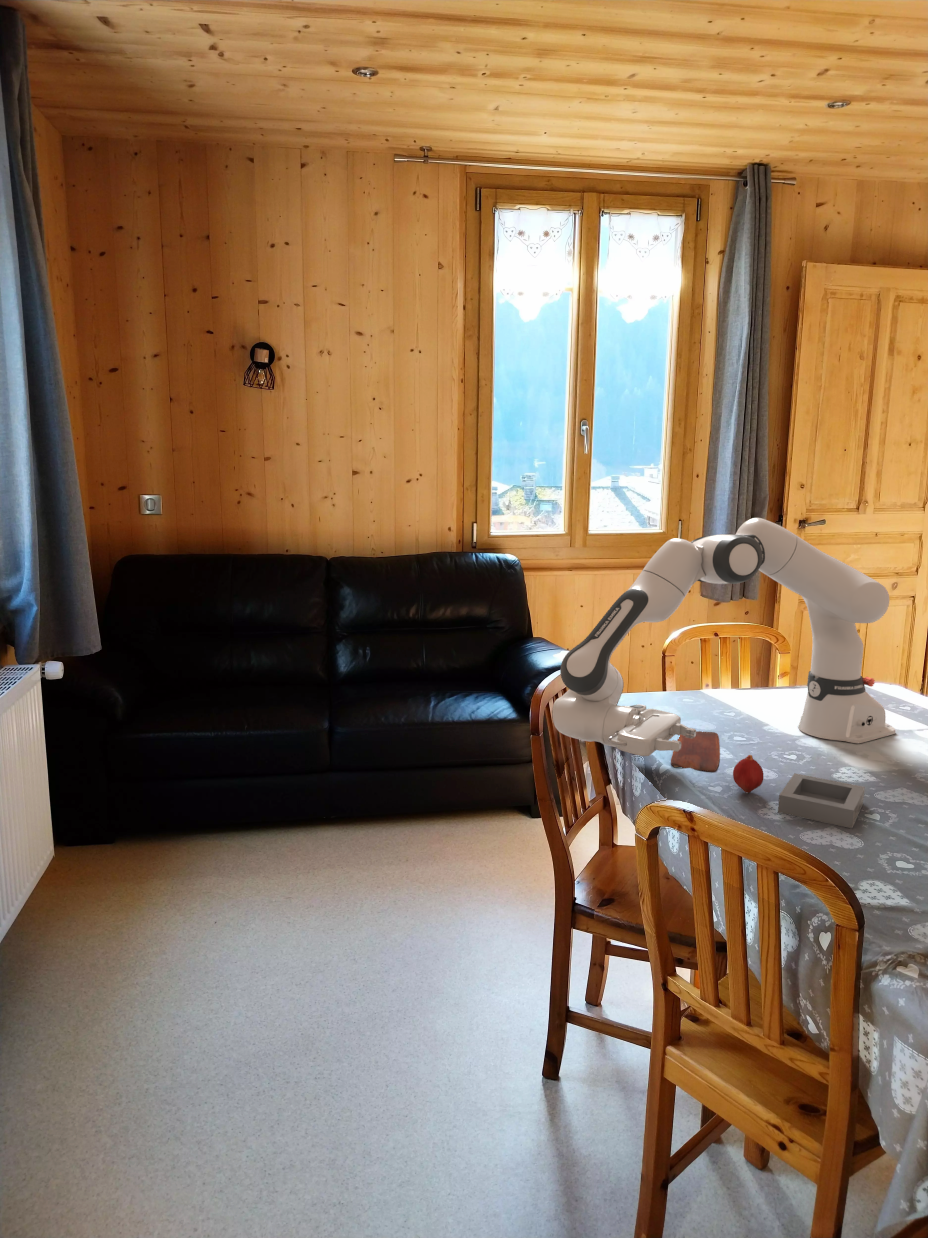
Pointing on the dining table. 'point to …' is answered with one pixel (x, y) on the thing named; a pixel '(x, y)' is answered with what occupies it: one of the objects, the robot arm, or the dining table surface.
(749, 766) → the red round fruit
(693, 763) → the wooden tablet
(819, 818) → the holder
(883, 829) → the dining table surface
